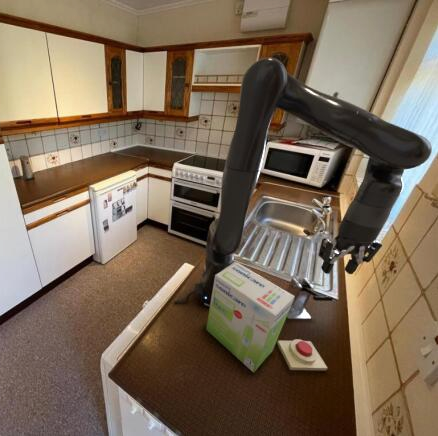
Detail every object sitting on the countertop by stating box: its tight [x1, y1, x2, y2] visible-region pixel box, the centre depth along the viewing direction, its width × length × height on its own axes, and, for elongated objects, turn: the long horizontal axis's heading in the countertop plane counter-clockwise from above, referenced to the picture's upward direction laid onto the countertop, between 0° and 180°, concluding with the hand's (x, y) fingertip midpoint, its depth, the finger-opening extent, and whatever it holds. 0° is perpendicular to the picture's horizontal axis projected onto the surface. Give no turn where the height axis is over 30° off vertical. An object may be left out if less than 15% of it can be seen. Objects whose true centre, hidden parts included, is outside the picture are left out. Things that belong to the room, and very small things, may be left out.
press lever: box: [298, 281, 333, 302], centre depth 76 cm, size 12×5×2 cm, turn 179°
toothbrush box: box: [205, 261, 295, 374], centre depth 69 cm, size 18×10×24 cm, turn 37°
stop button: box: [296, 340, 312, 357], centre depth 68 cm, size 4×4×2 cm
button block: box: [276, 339, 328, 371], centre depth 69 cm, size 10×8×4 cm
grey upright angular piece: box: [286, 277, 315, 320], centre depth 83 cm, size 10×8×13 cm
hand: (336, 271), depth 66 cm, fingers open, 5 cm apart
